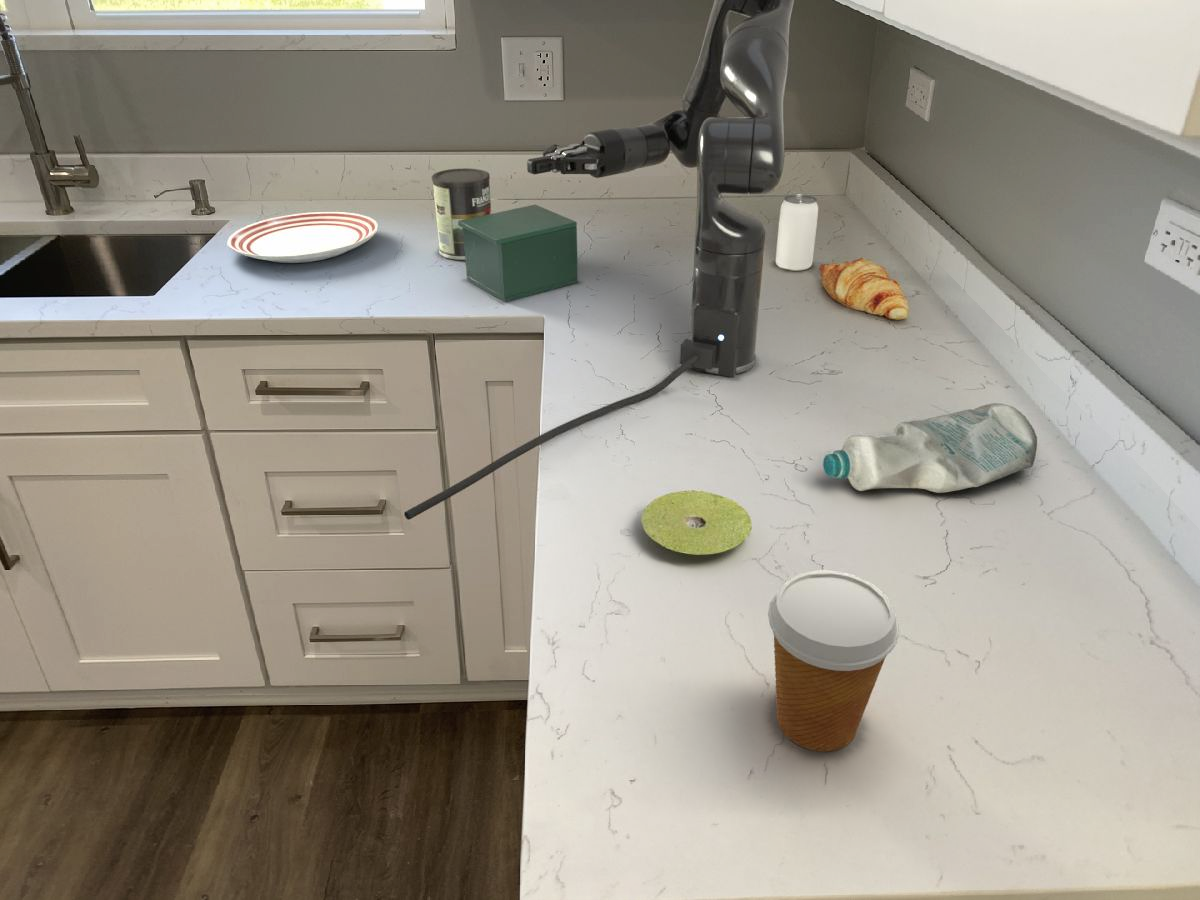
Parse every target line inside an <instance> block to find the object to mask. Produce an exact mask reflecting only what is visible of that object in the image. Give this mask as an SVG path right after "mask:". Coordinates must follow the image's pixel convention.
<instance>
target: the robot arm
mask: <svg viewBox="0 0 1200 900" xmlns="http://www.w3.org/2000/svg"><path fill="white" fill-rule="evenodd" d="M794 2H795V0H714V1H713V5H712V8H711V10H710V15H709V18H708V21H707V26H706V29H705V33H704V35H703V36H704V37H703V40H702V44H701V48H700V52H699V56H698V58H697V62H696V65H695V67H694V70H693V72H692V75H691V77H690V79H689V80H688V81H689V82H688V84H687V86H686V89H685V92H684V94H683V97H682V100H681V106H682V108H677V109H673V110H672V111H670V112H668V113H666V114H665V115H664V116H662V117H660V118H657V119H656V120H654V121H652V122H650V123H648V124H641V125H635V126H620V127H614V128H609V129H603V130H602V129H601V130H597V131H591V132H588V133H587V134H586V135H585V136H584V137H583V139H582V142H581V143H580V144H579V143H572V144H569V145H568V146H564V147H560V145H559V144H557V143H556V144H555V143H554V144H552V145H550V146H549V147H547V148H546V149H544V151H542V156H539V157H534V158H533V157H532V158H528V159H527V160H526V168H527V169H526V170H527V173H529V174H531V175H539V174H545V173H550V172H551V173H553V174H557V173H560V174H561V175H590V177H593V178H594V179H595V178H596V179H600V178H605V177H610V176H615V175H620V174H625V173H631V172H632V171H635V170H638V169H642V168H647V167H652V166H656V165H660V164H662V163H664V162H665V161H666V160H667V158H668V157H669V155H670V151H671V153H672V154H673V155H674V157H675V158H676V159H677V161H678V163H680V164H681V165H682V166H683V167H685V168H687V169H688V168H689V169H693V168H694V169H695V168H696V215H695V216H696V217H695V233H694V252H693V253H694V254H693V269H692V288H691V290H692V291H691V309H690V313H691V314H690V327H689V328H690V329H689V330H690V331H689V333H690V334H689V339H688V338H685V339H684V340H683V342H681V344H680V347H679V349H680V351H679V366H678V367H676V369H674V370H673V371H672V372H671V373H669V374H668V375H667V376H666V377H665V378H664V379H663V380H661V381H660V382H659V383H657V384H656V385H653V386H652V387H651V388H648V389H647V390H644V391H642V392H640V393H637V394H634V395H631V396H629V397H626V398H622V399H620V400H616V401H614V402H612V403H610V404H608V405H605V406H601V407H600V408H598V409H595V410H592V411H590V412H588V413H586V414H583V415H580V416H578V417H576V418H573V419H571V420H569V421H567V422H564V423H562V424H560V425H558V426H556V427H554V428H552V429H549V430H548V431H546V432H544V433H542V434H540V435H539V436H536V437H534V438H533V439H531V440H529V441H527V442H525V443H523V444H522V445H520V446H519V447H517V448H515V449H513V450H511V451H509V452H508V453H506V454H504V455H502V456H501V457H499V458H498V459H496V460H494V461H492V462H491V463H489V464H487V465H486V466H484V467H483V468H481V469H479V470H478V471H476V472H474V473H472V474H471V475H469V476H468V477H465V478H463V479H462V480H460V481H458V482H457V483H455V484H454V485H451V486H450V487H448V488H446V489H444V490H442V491H441V492H439V493H437V494H435V495H433V496H432V497H429V498H428V499H426V500H424V501H423V502H420V503H418V504H417V505H415V506H412V507H411V508H409V509H408V510H406V511H404V513H403V514H404V517H405V519H406V520H408V521H410V520H412V519H413V518H415V517H416V516H418V515H420V514H422V513H424V512H426V511H428V510H430V509H431V508H433V507H435V506H437V505H438V504H440V503H442V502H445V500H448V499H450V498H451V497H453V496H455V495H457V494H458V493H460V492H462V491H464V490H466V489H467V488H469V487H470V486H472V485H474V484H475V483H477V482H479V481H481V480H482V479H484V478H486V477H487V476H489V475H490V474H493V472H495V471H497V470H498V469H500V468H502V467H504V466H505V465H507V464H509V463H511V462H512V461H513V460H515V459H517V458H518V457H520V456H522V455H524V454H525V453H527V452H529V451H531V450H533V449H534V448H537V447H538V446H540V445H542V444H543V443H546V442H547V441H549V440H551V439H554V438H555V437H557V436H559V435H561V434H564V433H565V432H567V431H570V430H572V429H574V428H576V427H578V426H581V425H583V424H585V423H588V422H590V421H593V420H595V419H598V418H601V417H602V416H604V415H607V414H609V413H612V412H614V411H617V410H619V409H621V408H624V407H627V406H630V405H632V404H636V403H638V402H641V401H644V400H646V399H648V398H651V397H653V396H654V395H656V394H658V393H660V392H661V391H663V390H664V389H666V388H667V387H668V386H670V384H672V383H673V382H674V381H675V380H676V379H677V378H679V376H681V375H682V374H683V373H684V372H686V371H687V370H689V368H690V370H692V371H696V372H702V373H708V374H712V375H718V376H723V377H728V378H733V377H735V376H736V375H737V374H742V373H745V372H747V371H749V370H751V369H752V368H753V367H754V365H756V347H757V333H758V322H759V313H760V312H759V309H760V299H761V287H762V278H763V277H762V276H763V267H764V255H765V246H766V245H765V244H766V235H767V234H766V225H765V224H764V222H763V221H762V220H761V219H759V218H758V217H756V216H754V215H752V214H749V213H747V212H745V211H743V210H740V209H738V208H737V207H734V205H731V204H730V203H729V202H728V201H727V200H725V197H723V195H722V194H734V195H735V194H737V195H763V194H764V195H765V194H769V193H771V192H773V191H774V190H775V189H776V188H777V186H778V184H779V183H780V181H781V178H782V174H783V171H784V165H785V152H786V151H785V149H786V148H785V145H786V144H785V142H786V141H785V139H786V137H785V112H784V110H785V109H784V108H785V105H784V104H785V93H786V87H787V79H788V71H789V69H788V68H789V47H790V46H789V44H790V43H789V41H790V40H789V39H790V38H789V37H790V24H791V18H792V13H793V7H794ZM732 13H734V14H738V15H741V16H743V17H746V19H745V20H743V21H742V22H740V23H739V24H737V26H735V27H734V28H733V29H732V30H731V31H730V32H729V23H730V17H731V14H732ZM727 99H728V100H729V101H730V102H731V104H732V105H733V106H734V107H735V108H736V109H737V110H738V111H739V112H740V113H741V114H742V115H743V116H721V111H722V110H723V108H724V105H725V103H726V101H727Z"/></svg>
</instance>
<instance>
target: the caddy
mask: <svg viewBox="0 0 1200 900" xmlns="http://www.w3.org/2000/svg"><path fill="white" fill-rule="evenodd" d="M463 237H464V249H465V260H464V261H465V270H466V271H465V272H466V281H468V282H469V283H471V284H473V285H474V286H476V287H478V288H480V289H481V290H483V291H485V292H486V293H488V294H490V295H491V296H493V297H495V298H497V299H499V300H501V301H502V302H504V303H507V302H510V301H514V300H518V299H522V298H525V297H529V296H533V295H538V294H540V293H541V294H542V293H545V292H548V291H552V290H555V289H559V288H563V287H567V286H570V285H575V284H578V282H579V280H578V275H579V274H578V273H579V272H578V228H577V226H576V227H572V228H568V229H563V230H559V231H555V232H550V233H546V234H542V235H537V236H533V237H529V238H524V239H520V240H516V241H511V242H507V243H503V244H498V245H496V244H494V243H492V242H490V241H488V240H486V239H484V238H482V237H480V236H478V235H476V234H475V233H473V232H471V231H469V230H467V229H465V228H463Z"/></svg>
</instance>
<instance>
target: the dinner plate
mask: <svg viewBox="0 0 1200 900" xmlns="http://www.w3.org/2000/svg"><path fill="white" fill-rule="evenodd" d="M378 231H379V224H378V222H377V221H376V220H375V219H374V218H372V217H370V216H367V215H364V214H359V213H353V212H343V211H316V212H315V211H313V212H304V213H295V214H287V215H280V216H277V217H272V218H267V219H264V220H261V221H258V222H254V223H252V224H248V225H247V226H244V227H242V228H239V229H238V230H237V231H235V232H233V233H232V234H231V235H230V236H229V238H228V239H227V241H226V244H227V247H229V249H230V250H231V251H233V252H236V253H238V254H240V255H242V256H245V257H249V258H252V259H257V260H263V261H269V262H273V263H279V264H280V263H282V264H299V263H300V264H301V263H311V262H317V261H322V260H327V259H331V258H334V257H338V256H340V255H343V254H345V253H347V252H349V251H351V250H353V249H355V248H357V247H360V246H361V245H363V244H364V243H366V242H368V241H369V240H370V239H372V238H373V237H374V236H375V235H376V234H377V232H378Z"/></svg>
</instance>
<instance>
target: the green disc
mask: <svg viewBox="0 0 1200 900" xmlns="http://www.w3.org/2000/svg"><path fill="white" fill-rule="evenodd" d="M641 524H642V528H643V530H644V532H645V534H647V536H648V537H649V538H650V539H651V540H653V541H654V542H655V543H657V544H658V545H660V546H661V547H663V548H666V549H668V550H671V551H673V552H675V553H681V554H683V553H684V554H686V555H692V556H695V555H696V556H697V555H698V556H702V555H703V556H704V555H714V554H720V553H724V552H727V551H731V550H733V549H735V548H737V547H738V546H739V545H741V544H742V543H743V542H745V540H747V538H748V537H749V536H750V534H751V530H752V519H751V516H750V515H749V513H748V512H747V511H746V509H745V508H744V507H742V506H741V505H740V504H739V503H737V502H736V501H734V500H733V499H730V498H729V497H726V496H723V495H720V494H716V493H713V492H709V491H704V490H681V491H676V492H670V493H666V494H663V495H661V496H659V497H658V498H657V497H656V498H655V499H654V500H652V501H651V502H650V503H649V504H647V506H646V507H645V508H644V510H643V512H642V516H641Z"/></svg>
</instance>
